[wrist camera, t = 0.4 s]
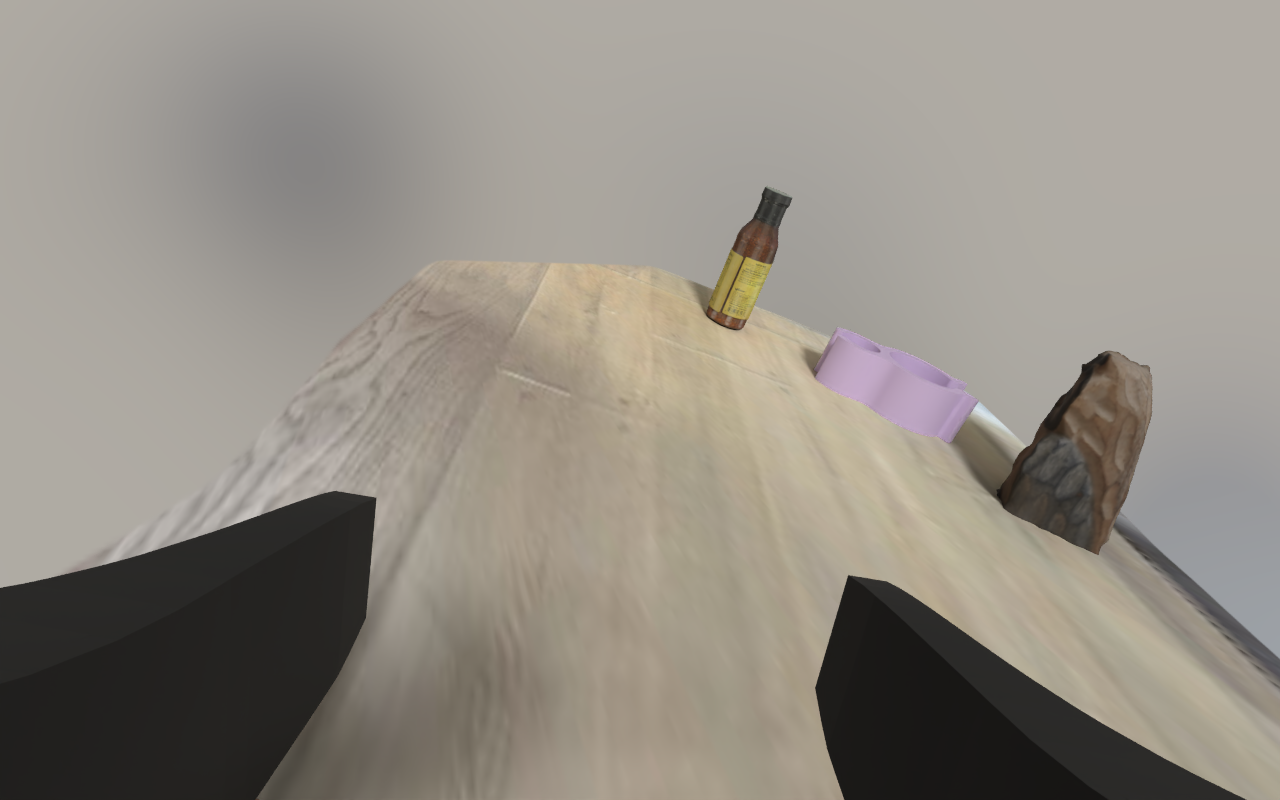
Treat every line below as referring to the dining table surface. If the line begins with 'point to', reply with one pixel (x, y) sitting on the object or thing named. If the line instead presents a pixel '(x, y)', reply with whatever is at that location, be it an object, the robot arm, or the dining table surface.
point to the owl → (1084, 454)
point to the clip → (895, 385)
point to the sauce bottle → (749, 262)
